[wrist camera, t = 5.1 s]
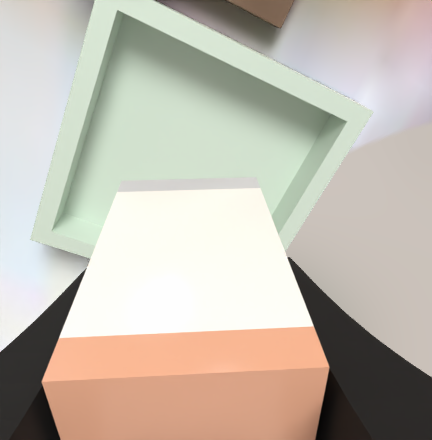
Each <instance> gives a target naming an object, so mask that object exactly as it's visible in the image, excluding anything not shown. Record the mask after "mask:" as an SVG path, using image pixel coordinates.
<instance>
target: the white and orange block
mask: <svg viewBox="0 0 432 440" xmlns="http://www.w3.org/2000/svg"><path fill="white" fill-rule="evenodd" d="M328 372H329V365H328V362H327V359H326V357H325V354H324V352H323V349H322V346H321V344H320V341H319V339H318V336H317V333H316V331H315V328H314V326H313V323H312V321H311V318H310V315H309V313H308V310H307V308H306V305H305V302H304V300H303V297H302V295H301V292H300V289H299V287H298V284H297V282H296V279H295V276H294V274H293V271H292V269H291V266H290V264H289V261H288V258H287V256H286V253H285V251H284V248H283V245H282V243H281V240H280V238H279V235H278V232H277V230H276V227H275V225H274V222H273V220H272V217H271V214H270V212H269V209H268V207H267V204H266V201H265V199H264V196H263V194H262V191H261V188H260V186H259V183H258V181H257V178H256V177H241V178H204V179H166V180H128V181H121V183H120V186H119V188H118V191H117V193H116V196H115V198H114V201H113V204H112V206H111V209H110V211H109V214H108V216H107V219H106V221H105V224H104V226H103V229H102V231H101V234H100V236H99V239H98V241H97V244H96V246H95V249H94V251H93V254H92V256H91V259H90V261H89V264H88V266H87V269H86V271H85V274H84V276H83V279H82V282H81V284H80V287H79V289H78V292H77V294H76V297H75V299H74V302H73V304H72V307H71V309H70V312H69V314H68V317H67V319H66V322H65V324H64V327H63V329H62V332H61V334H60V337H59V339H58V342H57V344H56V347H55V349H54V352H53V354H52V357H51V359H50V362H49V365H48V367H47V370H46V372H45V375H44V377H43V380H42V385H43V388H44V391H45V394H46V397H47V400H48V403H49V406H50V409H51V412H52V415H53V418H54V421H55V424H56V427H57V430H58V433H59V436H60V439H61V440H315V438H316V433H317V428H318V423H319V418H320V413H321V407H322V402H323V397H324V392H325V387H326V382H327V377H328Z"/></svg>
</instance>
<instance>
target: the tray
mask: <svg viewBox="0 0 432 440" xmlns="http://www.w3.org/2000/svg"><path fill="white" fill-rule="evenodd" d="M372 114H373V111H372V110H370V109H368V108H366V107H365V106H363V105H361V104H359V103H358V102H356V101H354V100H352V99H350V98H348V97H346V96H344V95H342V94H340V93H338V92H336V91H335V90H333V89H331V88H329V87H327V86H325V85H323V84H321V83H319V82H317V81H315V80H313V79H311V78H309V77H307V76H305V75H303V74H301V73H299V72H297V71H295V70H293V69H291V68H289V67H287V66H285V65H283V64H281V63H279V62H277V61H275V60H273V59H271V58H269V57H267V56H265V55H263V54H261V53H259V52H257V51H255V50H253V49H251V48H249V47H247V46H245V45H243V44H241V43H239V42H237V41H235V40H233V39H231V38H230V37H228V36H226V35H224V34H222V33H220V32H218V31H216V30H214V29H212V28H210V27H208V26H206V25H204V24H202V23H200V22H198V21H196V20H194V19H192V18H190V17H188V16H186V15H184V14H182V13H180V12H178V11H176V10H174V9H172V8H170V7H168V6H166V5H164V4H162V3H160V2H158V1H156V0H95V2H94V5H93V9H92V13H91V16H90V20H89V24H88V28H87V31H86V35H85V39H84V42H83V46H82V50H81V53H80V57H79V61H78V65H77V68H76V72H75V76H74V79H73V83H72V87H71V90H70V94H69V98H68V102H67V105H66V109H65V113H64V116H63V120H62V124H61V128H60V131H59V135H58V139H57V142H56V146H55V150H54V153H53V157H52V161H51V165H50V168H49V172H48V176H47V179H46V183H45V187H44V191H43V194H42V198H41V202H40V205H39V209H38V213H37V216H36V220H35V224H34V228H33V231H32V235H31V239H30V240H33V241H36V242H39V243H42V244H45V245H49V246H52V247H55V248H58V249H61V250H64V251H68V252H71V253H74V254H77V255H80V256H83V257H86V258H90V259H91V256H92V254H93V251H94V249H95V246H96V244H97V241H98V239H99V236H100V234H101V231H102V229H103V226H104V224H105V221H106V219H107V216H108V214H109V211H110V209H111V206H112V204H113V201H114V198H115V196H116V193H117V191H118V188H119V186H120V183H121V181H128V180H166V179H204V178H241V177H256V178H257V181H258V183H259V186H260V188H261V191H262V194H263V196H264V199H265V201H266V204H267V207H268V209H269V212H270V214H271V217H272V220H273V222H274V225H275V227H276V230H277V232H278V235H279V238H280V240H281V243H282V245H283V248H284V251H286V250H287V248H288V247H289V245H290V243H291V242H292V240H293V239H294V237H295V235H296V234H297V232H298V231H299V229H300V228H301V226H302V224H303V223H304V221H305V220H306V218H307V217H308V215H309V213H310V212H311V210H312V209H313V207H314V205H315V204H316V202H317V201H318V199H319V198H320V196H321V194H322V193H323V191H324V190H325V188H326V186H327V185H328V183H329V181H330V180H331V179H332V177H333V175H334V174H335V172H336V171H337V169H338V167H339V166H340V164H341V163H342V161H343V159H344V158H345V156H346V155H347V153H348V152H349V150H350V148H351V147H352V145H353V144H354V142H355V141H356V139H357V137H358V136H359V134H360V133H361V131H362V130H363V128H364V126H365V125H366V123H367V122H368V120H369V118H370V117H371V115H372Z"/></svg>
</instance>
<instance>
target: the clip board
mask: <svg viewBox="0 0 432 440" xmlns="http://www.w3.org/2000/svg"><path fill="white" fill-rule="evenodd" d="M226 1H228V2H230V3H232V4H234V5H235V6H237V7H239V8H241V9H243V10H245V11H247V12H249V13H251V14H252V15H254V16H256V17H258V18H260V19H262V20H264V21H266V22H268V23H269V24H271V25H273V26H275V27H278V28H281V27H282V25H283V23H284V20H285V18H286V16H287V14H288V12H289V10H290V8H291V6H292V4H293V2H294V0H226Z"/></svg>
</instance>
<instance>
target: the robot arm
mask: <svg viewBox="0 0 432 440" xmlns="http://www.w3.org/2000/svg"><path fill="white" fill-rule="evenodd" d="M287 258H288V261H289V264H290V266H291V269H292V271H293V274H294V276H295V279H296V282H297V284H298V287H299V289H300V292H301V295H302V297H303V300H304V302H305V305H306V308H307V310H308V313H309V315H310V318H311V321H312V323H313V326H314V328H315V331H316V333H317V336H318V339H319V341H320V344H321V346H322V349H323V352H324V354H325V357H326V359H327V362H328V365H329V372H328V377H327V382H326V387H325V392H324V397H323V402H322V407H321V413H320V418H319V423H318V428H317V433H316V438H315V440H432V377H430V376H429V375H427V374H426V373H424V372H423V371H421V370H420V369H418V368H416V367H415V366H414V365H412V364H411V363H409V362H408V361H406V360H405V359H404V358H402V357H401V356H399V355H398V354H397V353H395V352H394V351H393V350H391V349H390V348H388V347H387V346H386V345H384V344H383V343H382V342H380V341H379V340H378V339H376V338H375V337H374V336H372V335H371V334H370V333H369V332H368V331H366V330H365V329H364V328H363V327H362V326H361V325H359V324H358V323H357V322H356V321H355V320H353V319H352V318H351V317H350V316H349V315H347V314H346V313H345V312H344V311H343V310H342V309H341V308H340V307H339V306H338V305H337V304H336V303H335V302H334V301H333V300H331V299H330V298H329V297H328V296H327V295H326V294H325V293H324V292H323V291H322V290H321V289H320V288H319V287H318V286H317V285H316V284H315V283H314V282H313V281H312V280H311V279H310V278H309V277H308V276H307V275H306V273H304V271H303V270H302V269H301V268H300V267H299V266H298V265H297V264H296V263H295V262H294V261H293V260H292V259H291V258H290V257H287ZM86 269H87V268H86ZM86 269H85V270H84V271H83V272H82V273H81V274H80V275H79V276H78V277H77V278H76V280H75V281H74V282H73V283H72V284H71V285H70V286H69V287H68V288H67V289H66V290H65V291H64V292H63V293H62V294H61V295H60V296H59V297H58V298H57V299H56V300H55V301H54V302H53V303H52V304H51V305H50V306H49V307H48V308H47V309H46V310H45V311H44V312H43V313H42V314H41V315H40V316H39V317H38V318H37V319H36V320H35V321H34V322H33V323H32V324H31V325H30V326H29V327H28V328H27V329H25V330H24V331H23V332H22V333H21V334H20V335H19V336H18V337H17V338H16V339H15V340H13V341H12V342H11V343H10V344H9V345H8V346H7V347H6V348H4V349H3V350H2V351H1V352H0V440H61V439H60V436H59V433H58V430H57V427H56V424H55V421H54V418H53V415H52V412H51V409H50V406H49V403H48V400H47V397H46V394H45V391H44V388H43V385H42V380H43V377H44V375H45V372H46V370H47V367H48V365H49V362H50V359H51V357H52V354H53V352H54V349H55V347H56V344H57V342H58V339H59V337H60V334H61V332H62V329H63V327H64V324H65V322H66V319H67V317H68V314H69V312H70V309H71V307H72V304H73V302H74V299H75V297H76V294H77V292H78V289H79V287H80V284H81V282H82V279H83V276H84V274H85V271H86Z"/></svg>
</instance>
